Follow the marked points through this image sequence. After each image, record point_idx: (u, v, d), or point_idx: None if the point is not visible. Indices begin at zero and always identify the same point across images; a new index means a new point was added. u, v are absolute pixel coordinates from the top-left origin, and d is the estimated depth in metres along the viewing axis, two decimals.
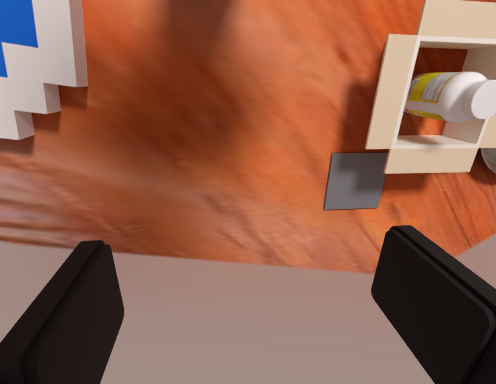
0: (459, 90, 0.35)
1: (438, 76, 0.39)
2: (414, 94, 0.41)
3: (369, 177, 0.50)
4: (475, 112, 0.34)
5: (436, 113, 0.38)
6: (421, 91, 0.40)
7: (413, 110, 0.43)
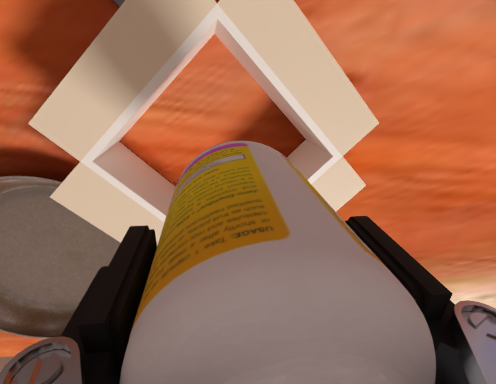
0: None
1: None
2: None
3: None
4: None
5: (286, 221, 0.06)
6: None
7: (253, 156, 0.10)
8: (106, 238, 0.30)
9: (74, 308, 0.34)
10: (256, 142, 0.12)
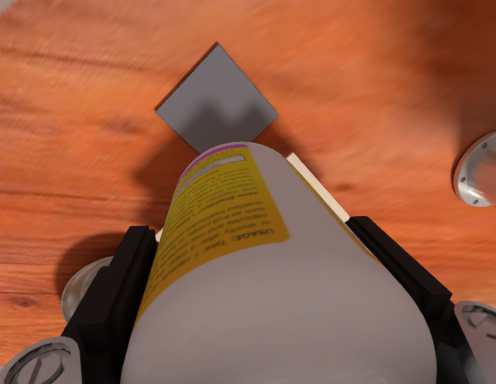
0: None
1: None
2: None
3: (211, 132, 0.35)
4: None
5: (286, 223, 0.06)
6: None
7: (253, 158, 0.10)
8: None
9: None
10: (256, 143, 0.12)
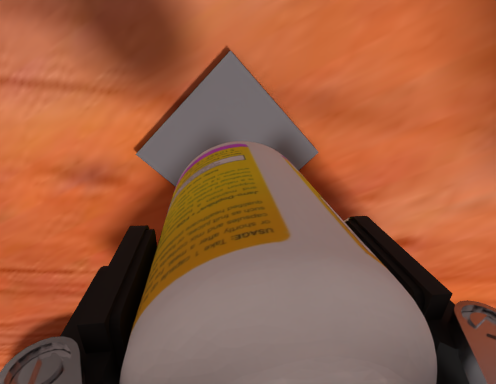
0: None
1: None
2: (312, 186, 0.10)
3: None
4: None
5: (286, 222, 0.06)
6: None
7: (253, 157, 0.10)
8: None
9: None
10: (256, 143, 0.12)
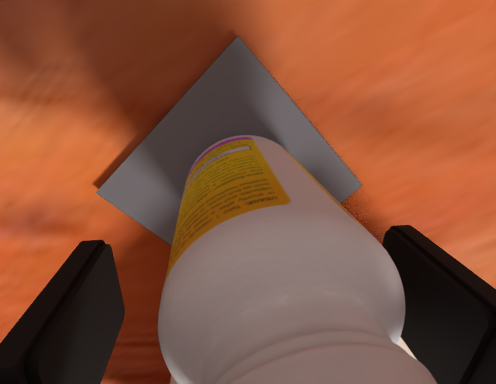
0: (392, 325, 0.06)
1: None
2: None
3: None
4: None
5: (288, 193, 0.07)
6: None
7: (258, 147, 0.11)
8: None
9: None
10: None
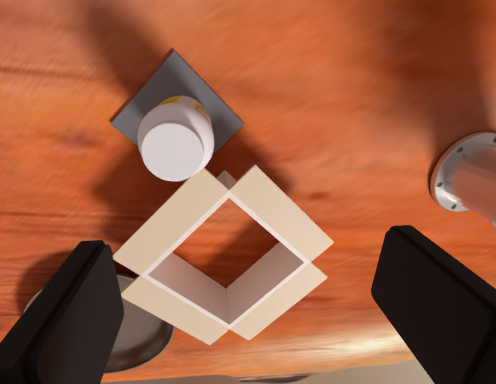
0: (202, 135, 0.23)
1: None
2: (203, 108, 0.28)
3: None
4: (168, 126, 0.20)
5: (176, 102, 0.23)
6: (206, 114, 0.27)
7: (180, 97, 0.28)
8: None
9: (118, 350, 0.45)
10: (187, 96, 0.30)
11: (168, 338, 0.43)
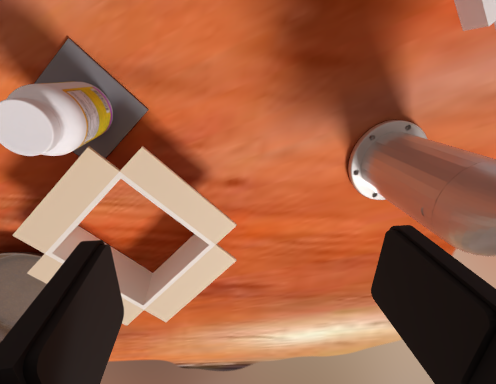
0: (64, 114, 0.24)
1: (97, 122, 0.29)
2: (91, 93, 0.30)
3: None
4: (11, 103, 0.21)
5: (44, 83, 0.25)
6: (91, 97, 0.29)
7: (69, 82, 0.29)
8: None
9: None
10: (84, 82, 0.32)
11: None
